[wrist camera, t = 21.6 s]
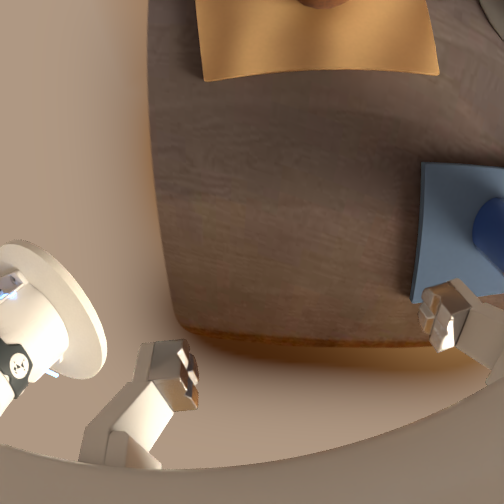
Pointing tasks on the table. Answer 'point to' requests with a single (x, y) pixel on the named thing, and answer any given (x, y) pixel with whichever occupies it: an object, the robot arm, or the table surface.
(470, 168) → the blue mat
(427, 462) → the robot arm
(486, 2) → the cup
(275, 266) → the table surface
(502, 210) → the blue bottle
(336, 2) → the wooden figurine
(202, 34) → the cork mat
